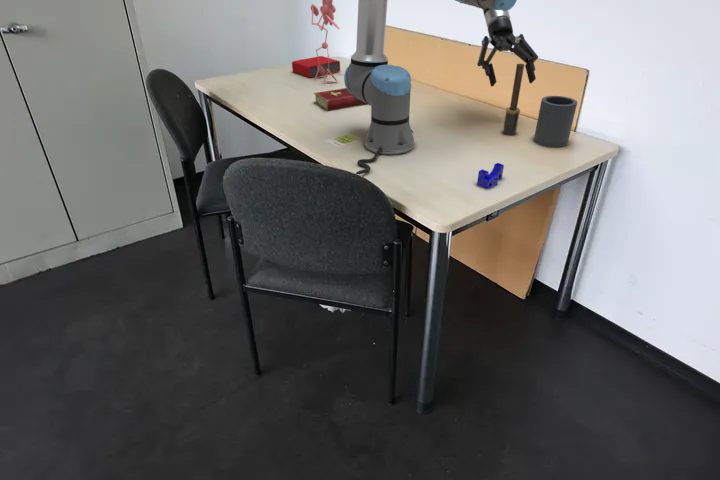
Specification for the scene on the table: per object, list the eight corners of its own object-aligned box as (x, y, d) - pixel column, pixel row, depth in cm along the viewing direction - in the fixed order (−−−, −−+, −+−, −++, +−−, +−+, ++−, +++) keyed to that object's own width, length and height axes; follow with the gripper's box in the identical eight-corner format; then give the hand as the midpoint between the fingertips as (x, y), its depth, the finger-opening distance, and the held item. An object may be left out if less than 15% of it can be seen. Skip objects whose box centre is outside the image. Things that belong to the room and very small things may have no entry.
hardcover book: (375, 102, 189) (375, 92, 187) (326, 111, 181) (326, 100, 179) (361, 95, 198) (361, 84, 196) (314, 102, 190) (313, 92, 188)
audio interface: (322, 66, 240) (322, 55, 237) (340, 71, 230) (339, 60, 228) (292, 72, 230) (291, 61, 228) (309, 78, 221) (308, 66, 218)
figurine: (330, 88, 207) (326, -2, 188) (306, 75, 226) (300, -9, 207) (361, 83, 213) (360, -5, 194) (335, 70, 232) (332, -11, 213)
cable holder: (487, 189, 126) (489, 175, 124) (477, 184, 129) (478, 170, 126) (506, 180, 131) (508, 166, 128) (495, 176, 133) (497, 162, 131)
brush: (515, 135, 158) (527, 66, 146) (502, 134, 159) (512, 65, 147) (516, 131, 161) (528, 63, 149) (502, 129, 163) (513, 62, 151)
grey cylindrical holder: (568, 148, 148) (578, 107, 141) (533, 145, 151) (541, 104, 144) (566, 137, 156) (576, 97, 149) (534, 134, 159) (541, 94, 152)
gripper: (527, 29, 164) (542, 85, 160) (459, 33, 159) (472, 91, 155) (539, 14, 157) (554, 73, 153) (467, 18, 152) (481, 79, 148)
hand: (513, 82), depth 154 cm, fingers open, 13 cm apart
